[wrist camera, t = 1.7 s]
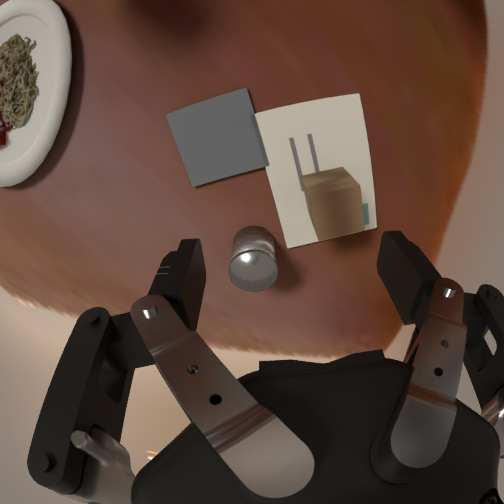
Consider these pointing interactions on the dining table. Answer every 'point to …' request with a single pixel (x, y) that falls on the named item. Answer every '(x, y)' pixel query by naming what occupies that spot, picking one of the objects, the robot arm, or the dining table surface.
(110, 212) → the dining table surface
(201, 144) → the coaster
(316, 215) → the walnut block
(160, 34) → the dining table surface
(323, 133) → the envelope
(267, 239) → the tin
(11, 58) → the plated food
